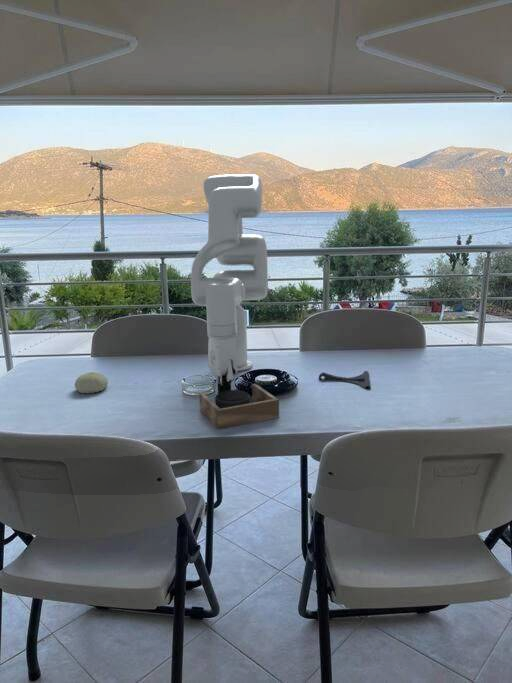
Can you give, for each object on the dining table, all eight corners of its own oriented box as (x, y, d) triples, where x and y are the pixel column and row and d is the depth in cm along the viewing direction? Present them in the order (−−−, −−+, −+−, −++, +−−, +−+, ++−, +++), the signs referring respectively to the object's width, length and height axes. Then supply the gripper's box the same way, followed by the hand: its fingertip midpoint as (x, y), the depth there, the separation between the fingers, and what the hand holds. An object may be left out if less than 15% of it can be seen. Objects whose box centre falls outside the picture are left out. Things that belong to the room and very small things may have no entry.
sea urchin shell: (116, 379, 143) (102, 366, 137) (106, 403, 140) (92, 391, 133) (90, 376, 146) (75, 363, 140) (80, 400, 143) (64, 388, 136)
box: (200, 409, 123) (199, 393, 122) (256, 399, 129) (255, 383, 128) (218, 429, 111) (217, 410, 110) (279, 417, 117) (278, 399, 116)
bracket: (320, 374, 152) (320, 365, 151) (368, 376, 149) (369, 367, 149) (317, 389, 138) (317, 380, 138) (370, 391, 136) (371, 382, 135)
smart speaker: (255, 413, 120) (254, 398, 119) (220, 418, 117) (219, 402, 116) (245, 401, 128) (244, 387, 127) (212, 405, 125) (211, 391, 125)
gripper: (199, 326, 129) (202, 391, 133) (218, 337, 116) (221, 409, 120) (225, 323, 132) (227, 387, 136) (246, 334, 119) (248, 404, 123)
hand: (224, 397), depth 128 cm, fingers closed
